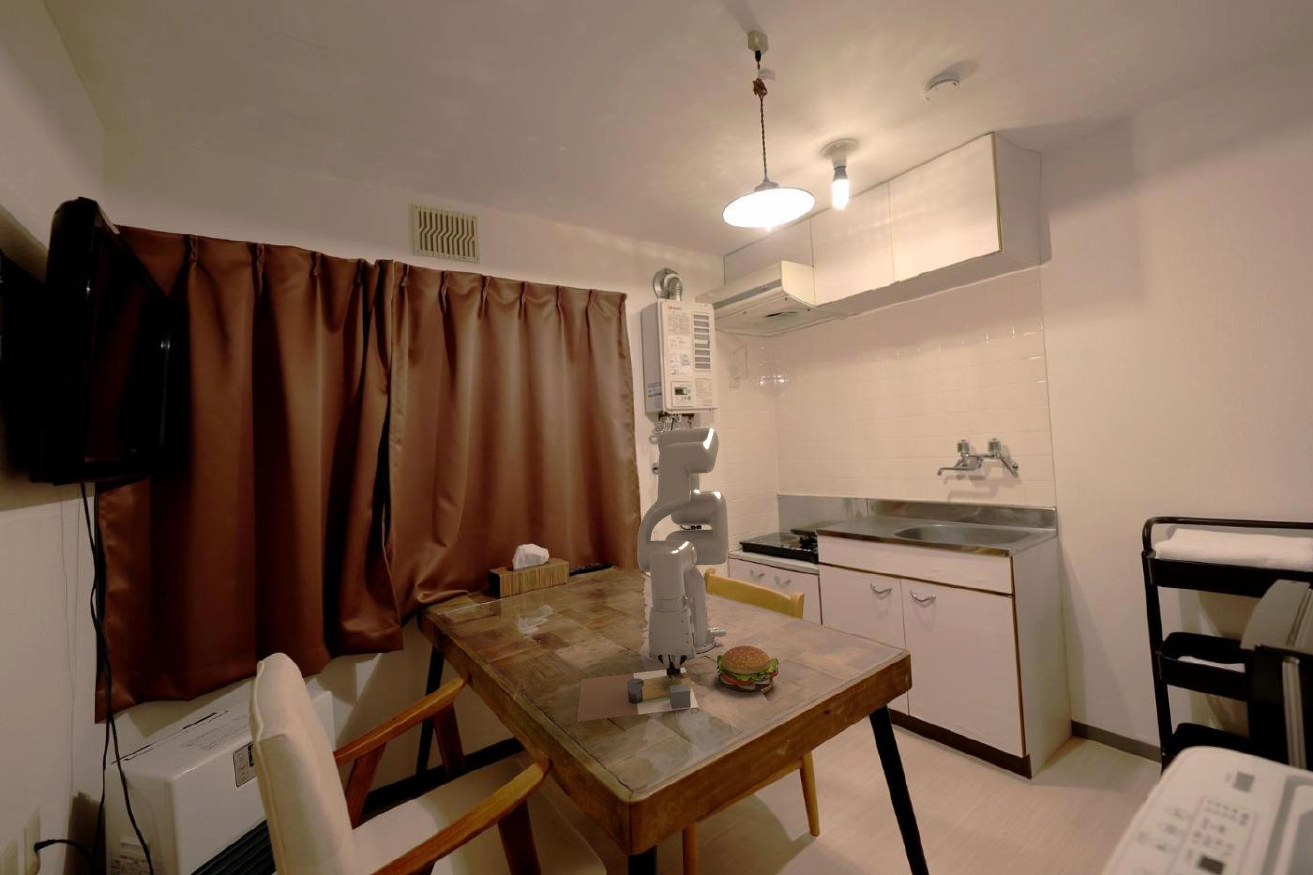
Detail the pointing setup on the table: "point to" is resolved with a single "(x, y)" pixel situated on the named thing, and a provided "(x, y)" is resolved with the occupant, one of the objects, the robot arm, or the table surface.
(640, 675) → the door panel
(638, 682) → the bar
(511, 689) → the table surface
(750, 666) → the food
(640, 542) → the robot arm
